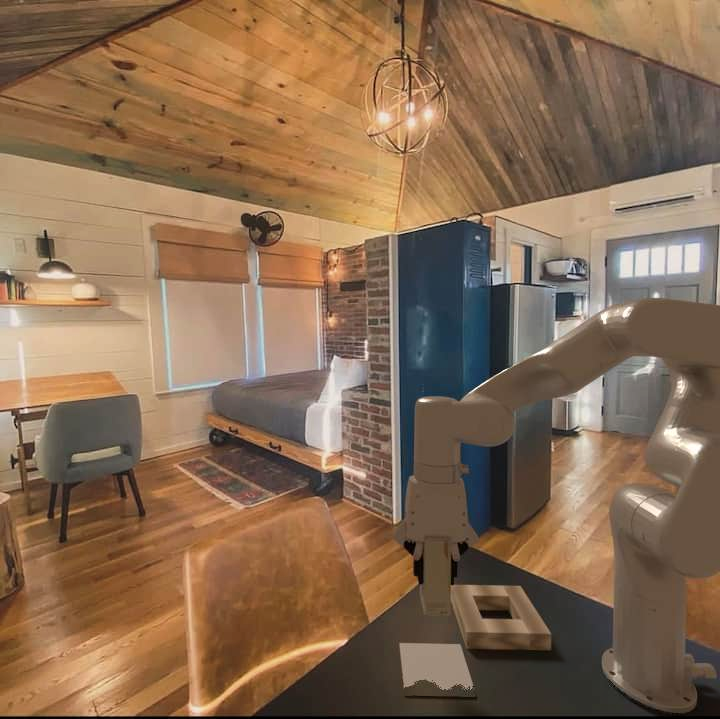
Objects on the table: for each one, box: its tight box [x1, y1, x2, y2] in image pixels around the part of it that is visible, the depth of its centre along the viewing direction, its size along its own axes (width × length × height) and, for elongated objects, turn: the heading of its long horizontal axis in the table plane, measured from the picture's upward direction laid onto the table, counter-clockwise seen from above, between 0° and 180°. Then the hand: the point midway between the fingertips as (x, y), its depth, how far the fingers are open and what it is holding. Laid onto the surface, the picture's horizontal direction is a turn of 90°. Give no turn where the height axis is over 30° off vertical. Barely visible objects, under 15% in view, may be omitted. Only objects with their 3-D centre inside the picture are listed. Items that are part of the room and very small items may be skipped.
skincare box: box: [419, 538, 452, 617], centre depth 68 cm, size 6×4×12 cm
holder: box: [451, 584, 552, 651], centre depth 81 cm, size 15×15×3 cm
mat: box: [398, 642, 475, 690], centre depth 69 cm, size 11×11×1 cm
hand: (434, 579), depth 68 cm, fingers closed on skincare box, 4 cm apart
